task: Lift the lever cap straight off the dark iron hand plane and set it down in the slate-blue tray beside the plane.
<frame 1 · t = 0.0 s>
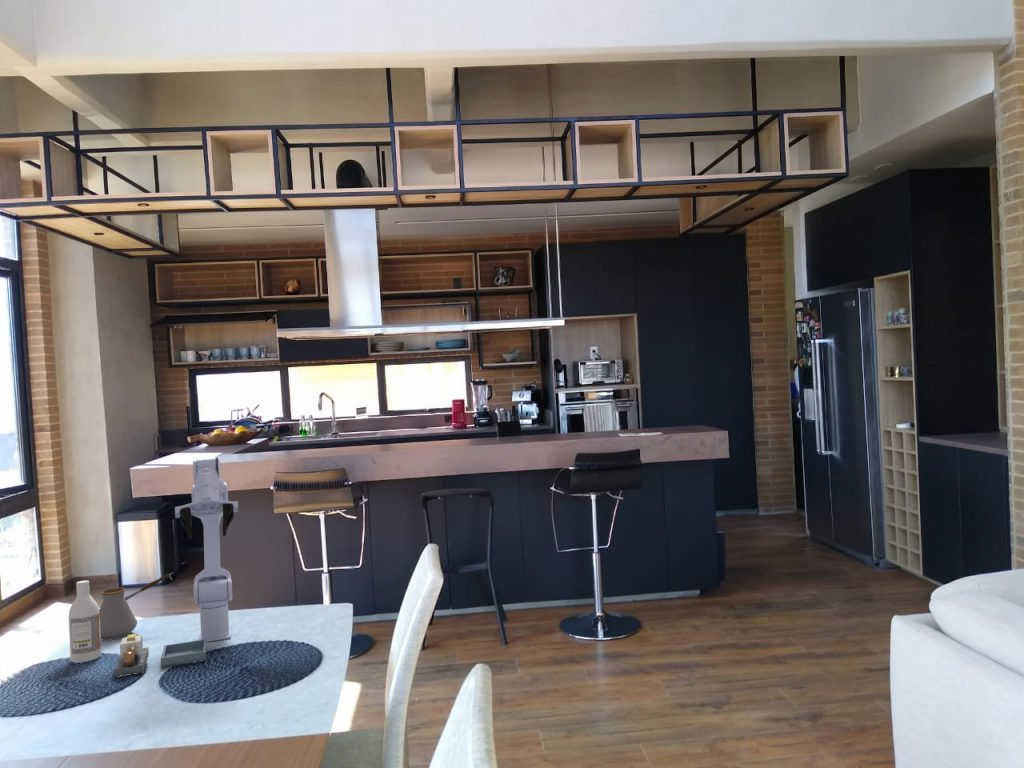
hand: (207, 534, 185), 32 cm above the table, tool tilted 50°, fingers open, 7 cm apart
lever cap: (131, 651, 190), point 3 cm above the table, touching hand plane
hand plane: (132, 666, 190), on the table
tray: (184, 657, 194), on the table
coffee pot: (134, 632, 220), on the table
bath foam: (86, 660, 197), on the table
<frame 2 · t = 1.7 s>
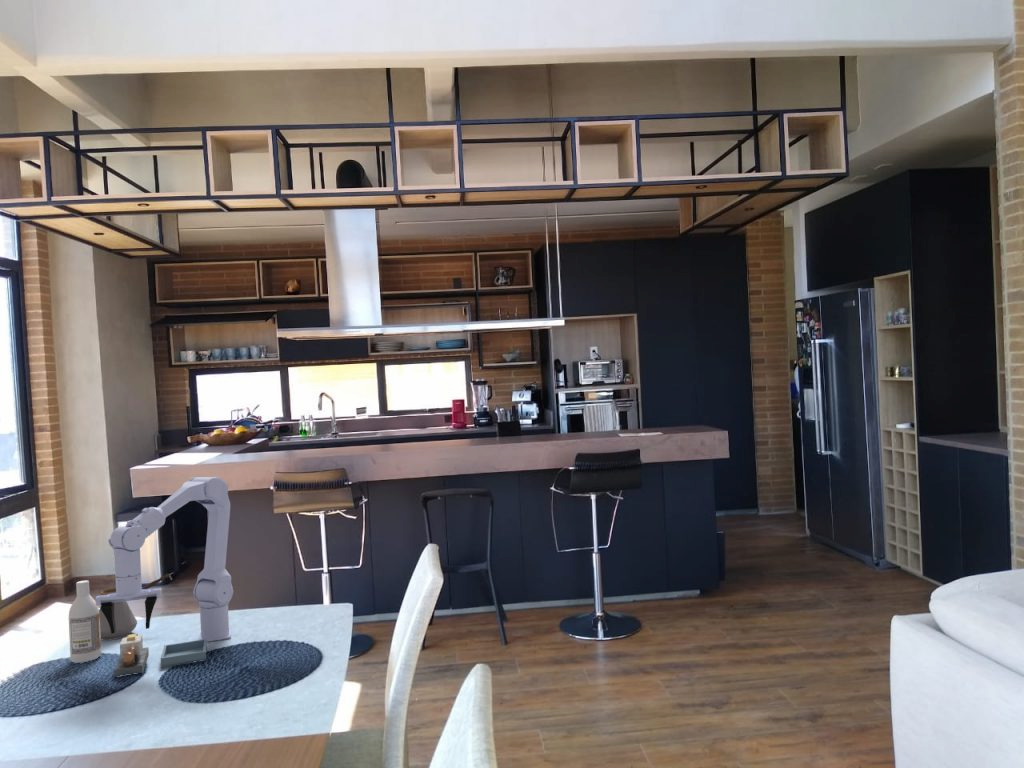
hand: (130, 630, 190), 9 cm above the table, tool pointing down, fingers open, 7 cm apart
nothing on the table moved.
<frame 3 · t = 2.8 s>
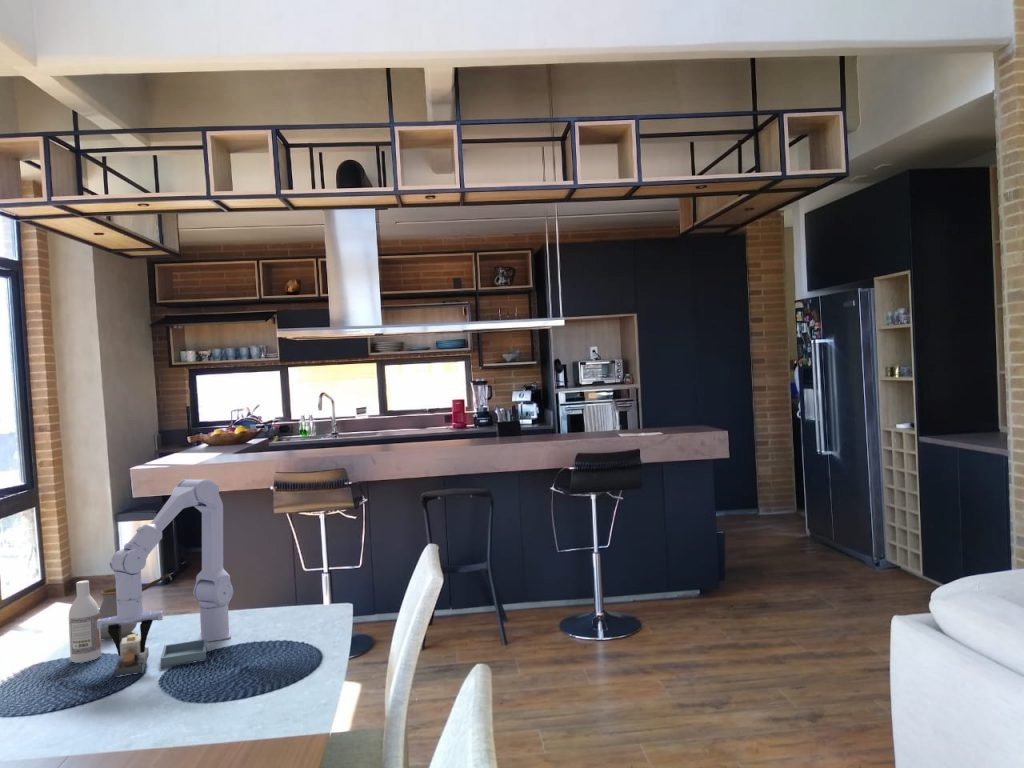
hand: (131, 653, 190), 3 cm above the table, tool pointing down, fingers closed on lever cap, 4 cm apart
lever cap: (131, 651, 190), point 3 cm above the table, touching gripper, hand plane
everything else where it was.
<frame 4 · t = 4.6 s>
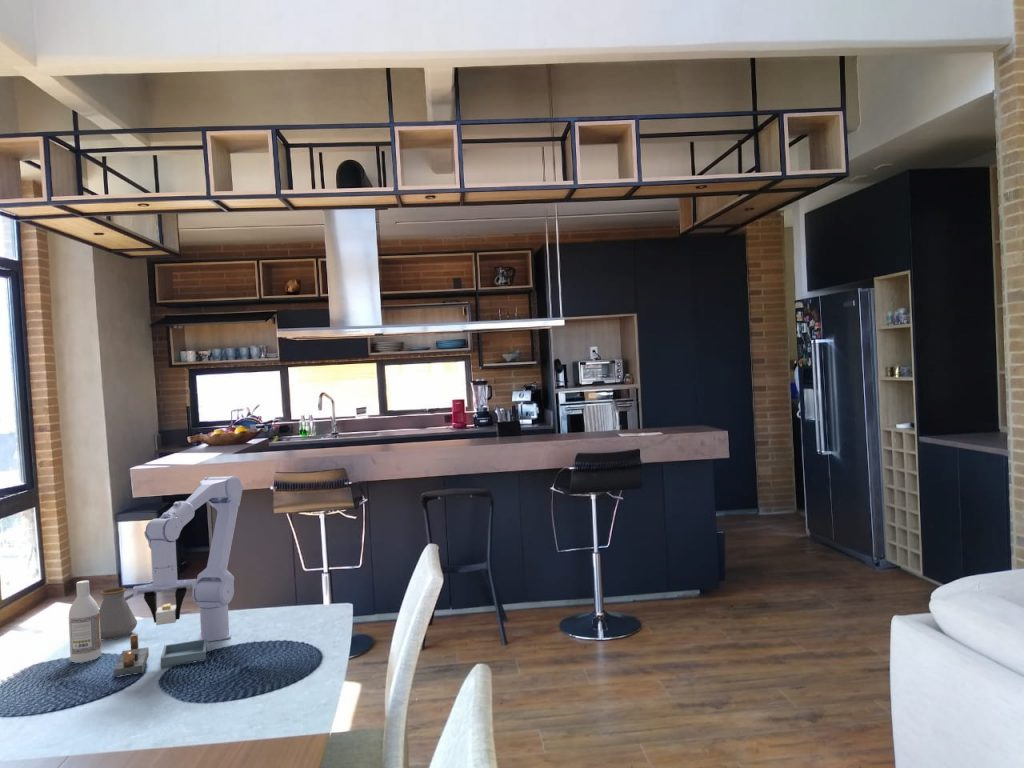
hand: (167, 620, 193), 10 cm above the table, tool pointing down, fingers closed on lever cap, 4 cm apart
lever cap: (167, 620, 193), point 10 cm above the table, touching gripper
everything else where it was.
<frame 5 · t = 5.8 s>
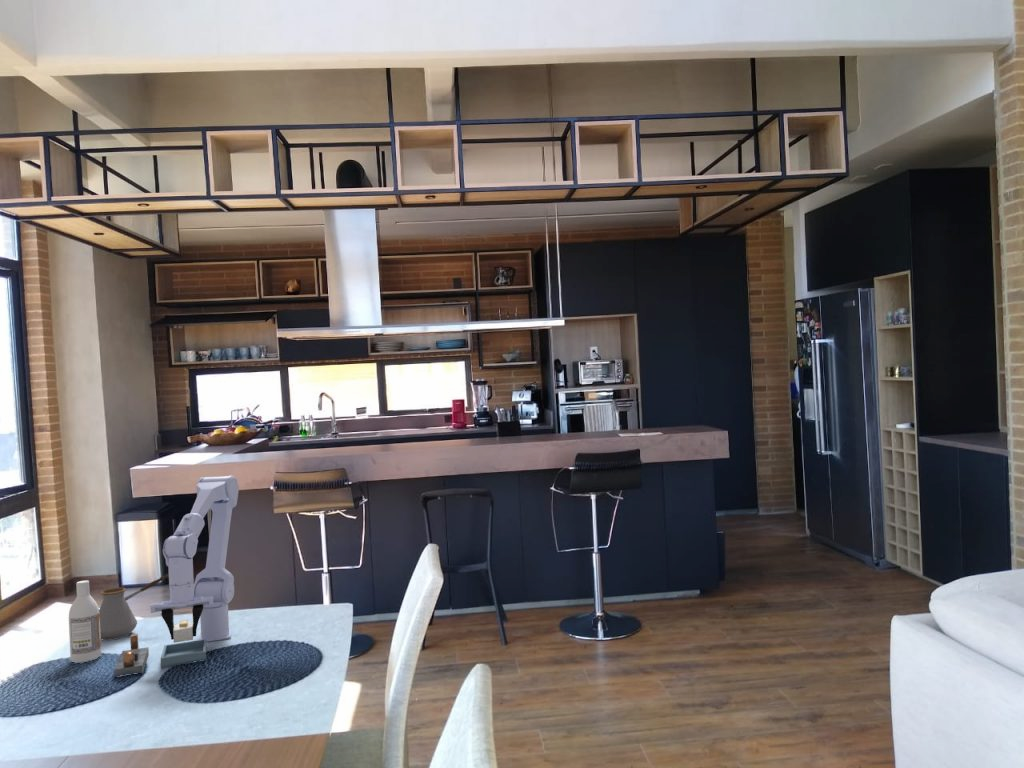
hand: (183, 636, 194), 5 cm above the table, tool pointing down, fingers closed on lever cap, 4 cm apart
lever cap: (183, 637, 195), point 5 cm above the table, touching gripper
everything else where it was.
when the fingers open (3 cm above the table, at t = 6.8 s): lever cap drops 2 cm, resting on tray.
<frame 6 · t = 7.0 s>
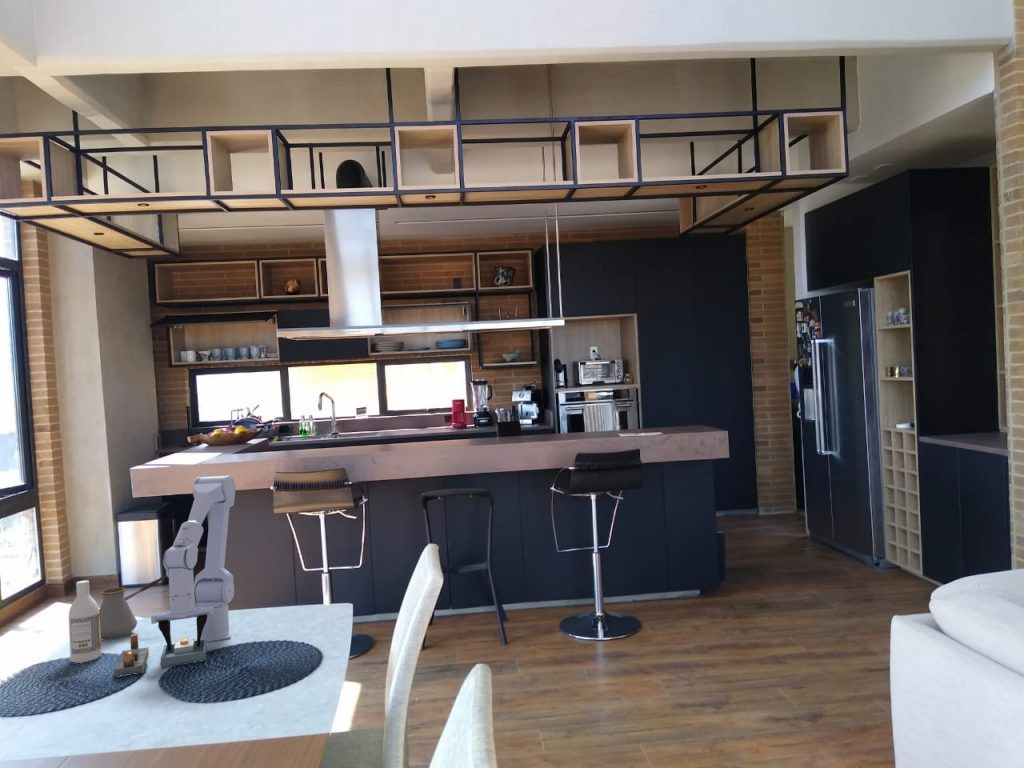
hand: (184, 647, 194), 3 cm above the table, tool pointing down, fingers open, 6 cm apart
lever cap: (184, 655, 194), point 1 cm above the table, touching tray
everything else where it was.
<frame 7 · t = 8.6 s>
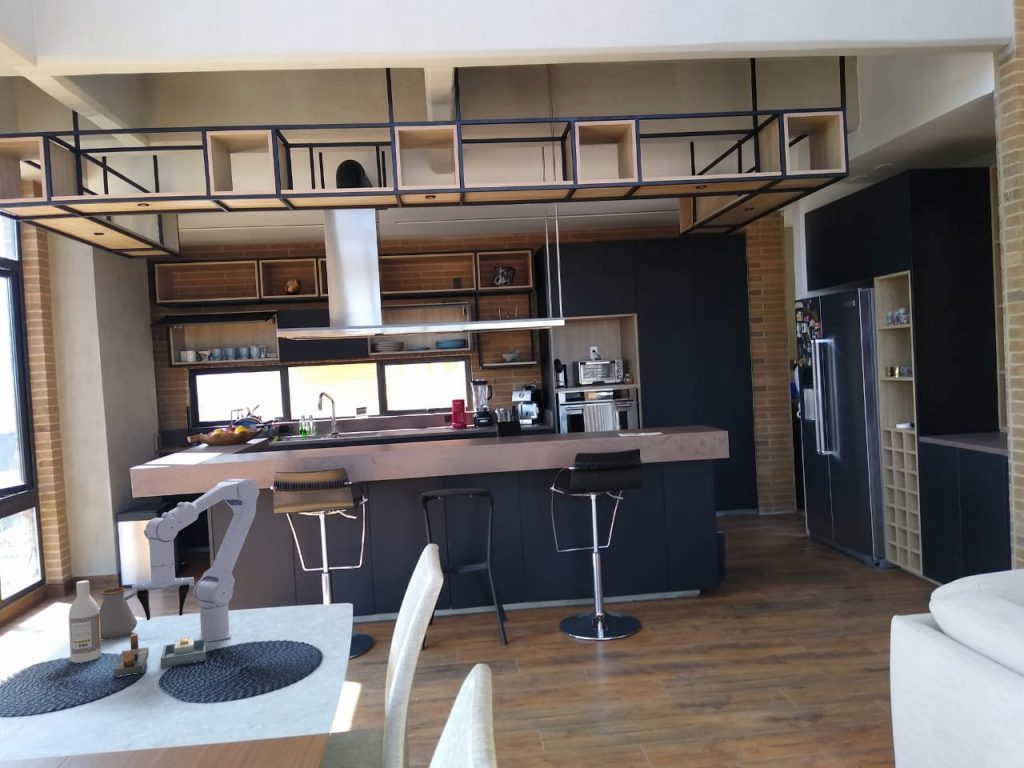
hand: (164, 616, 199), 9 cm above the table, tool pointing down, fingers open, 7 cm apart
nothing on the table moved.
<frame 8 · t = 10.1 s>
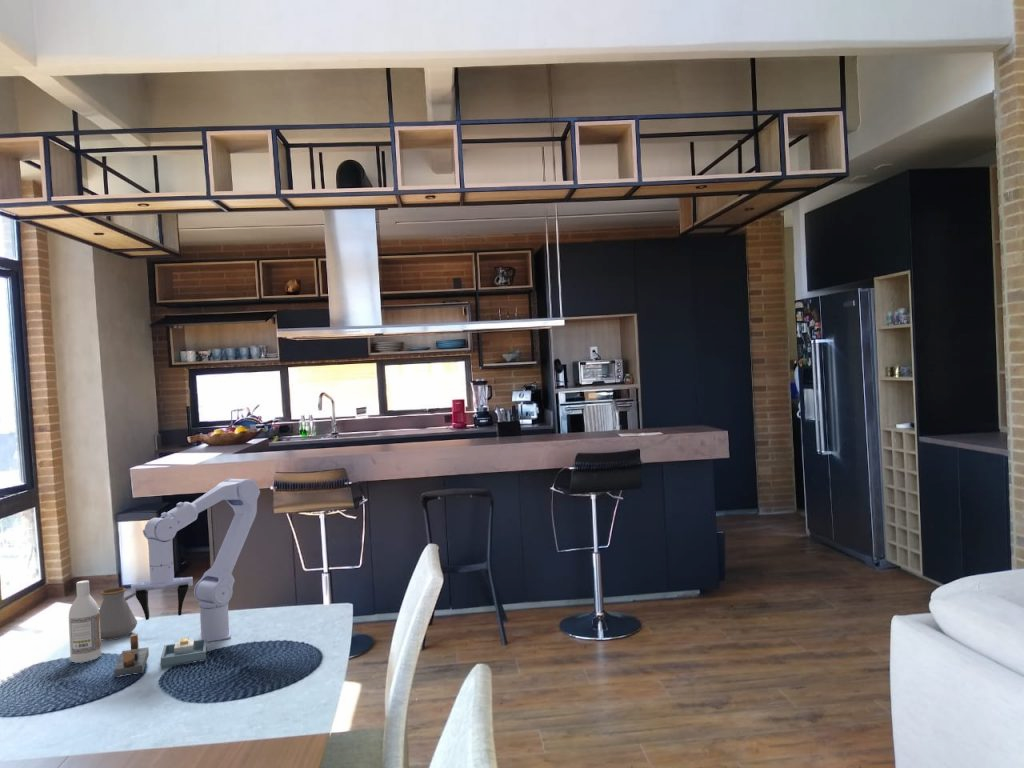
hand: (163, 616, 199), 9 cm above the table, tool pointing down, fingers open, 7 cm apart
nothing on the table moved.
at the end: lever cap 0.0 cm off-centre on the tray, point 0.6 cm above the tray's base; the gripper is holding nothing; lever cap tilted 0° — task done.
